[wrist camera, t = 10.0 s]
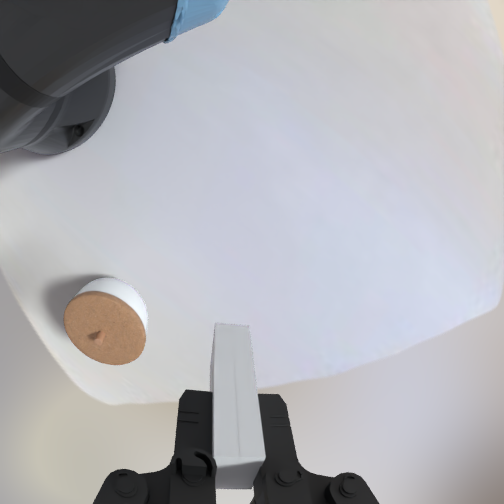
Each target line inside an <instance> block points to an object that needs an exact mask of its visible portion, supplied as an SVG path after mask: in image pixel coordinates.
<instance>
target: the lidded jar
mask: <svg viewBox="0 0 504 504" xmlns="http://www.w3.org/2000/svg"><path fill="white" fill-rule="evenodd" d="M64 326H65V329H66V332H67V334H68V336H69V338H70V340H71V341H72V343H73V344H74V345H75V346H76V347H77V348H78V349H79V350H80V351H81V352H82V353H84V354H85V355H87V356H88V357H90V358H92V359H94V360H96V361H98V362H101V363H105V364H110V365H122V364H127V363H130V362H132V361H134V360H135V359H137V358H138V357H139V356H140V354H141V353H142V351H143V349H144V346H145V342H146V335H147V331H148V311H147V308H146V304H145V302H144V300H143V298H142V296H141V295H140V294H139V292H138V291H137V290H136V289H135V288H134V287H133V286H131V285H130V284H129V283H127V282H125V281H123V280H120V279H117V278H108V277H107V278H100V279H96V280H94V281H92V282H90V283H88V284H87V285H85V286H84V287H83V288H82V289H81V290H80V291H79V292H78V293H77V294H76V296H75V297H74V298H73V299H72V300H71V301H70V302H69V304H68V305H67V307H66V309H65V312H64Z"/></svg>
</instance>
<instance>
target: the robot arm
mask: <svg viewBox="0 0 504 504" xmlns="http://www.w3.org/2000/svg"><path fill="white" fill-rule="evenodd" d="M228 1H229V0H0V153H3V152H7V151H10V150H13V149H17V148H22V149H25V150H28V151H31V152H34V153H38V154H45V155H49V154H57V153H61V152H64V151H68V150H71V149H73V148H75V147H77V146H79V145H81V144H82V143H84V142H85V141H86V140H88V139H89V138H90V137H91V136H92V135H93V134H94V133H95V132H96V131H97V130H98V128H99V127H100V126H101V124H102V123H103V121H104V119H105V118H106V116H107V114H108V112H109V109H110V107H111V104H112V101H113V97H114V92H115V82H116V80H115V69H114V66H115V65H117V64H119V63H121V62H122V61H124V60H126V59H128V58H130V57H132V56H134V55H136V54H138V53H140V52H142V51H144V50H146V49H148V48H150V47H153V46H155V45H157V44H159V43H161V42H164V43H165V44H166V43H169V42H171V41H173V40H174V39H175V38H176V36H178V35H180V34H182V33H184V32H187V31H189V30H191V29H193V28H196V27H198V26H201V25H203V24H205V23H208V22H210V21H212V20H213V19H215V18H217V17H218V16H219V15H220V14H221V12H222V11H223V10H224V8H225V6H226V5H227V3H228ZM253 486H254V497H253V499H252V501H251V503H250V504H379V502H378V501H377V499H376V498H375V496H374V495H373V493H372V492H371V490H370V488H369V487H368V485H367V484H366V482H365V481H364V480H363V479H362V478H361V477H360V476H359V475H356V474H354V473H348V472H347V473H341V474H339V475H337V476H336V477H328V476H322V475H316V474H313V473H310V472H309V471H307V470H305V469H304V468H303V467H302V466H301V464H300V463H299V462H298V459H297V455H296V450H295V445H294V440H293V435H292V430H291V427H290V421H289V418H288V411H287V406H286V403H285V402H284V401H283V399H282V398H281V396H280V395H279V394H258V393H257V384H256V376H255V368H254V360H253V352H252V343H251V335H250V326H248V325H235V324H224V323H215V329H214V338H213V347H212V356H211V365H210V392H207V391H196V390H185V392H184V393H183V395H182V396H181V398H180V399H179V408H178V418H177V428H176V438H175V450H174V455H173V456H172V459H171V462H170V465H168V466H167V467H166V468H164V469H162V470H160V471H157V472H151V473H144V474H138V473H136V472H135V471H132V470H128V469H120V470H116V471H114V472H112V473H110V474H109V475H108V477H107V478H106V479H105V481H104V483H103V485H102V487H101V489H100V491H99V493H98V495H97V496H96V499H95V500H94V502H93V504H216V491H215V490H216V489H252V487H253Z"/></svg>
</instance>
